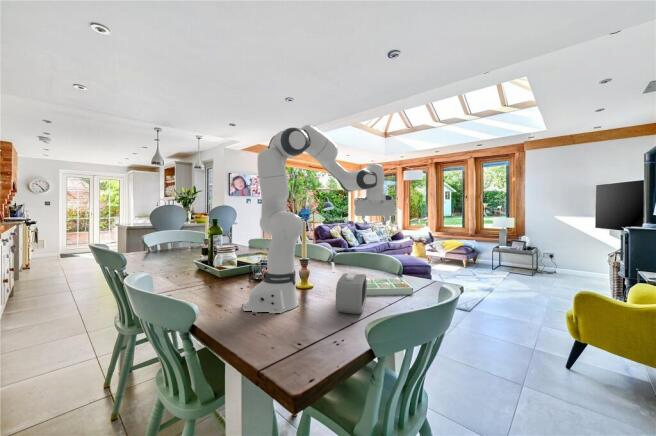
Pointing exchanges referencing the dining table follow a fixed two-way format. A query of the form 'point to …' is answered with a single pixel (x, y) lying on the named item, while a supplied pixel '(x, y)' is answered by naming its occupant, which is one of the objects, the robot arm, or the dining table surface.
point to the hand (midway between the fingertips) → (374, 225)
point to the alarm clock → (351, 293)
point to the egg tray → (376, 289)
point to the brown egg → (402, 285)
